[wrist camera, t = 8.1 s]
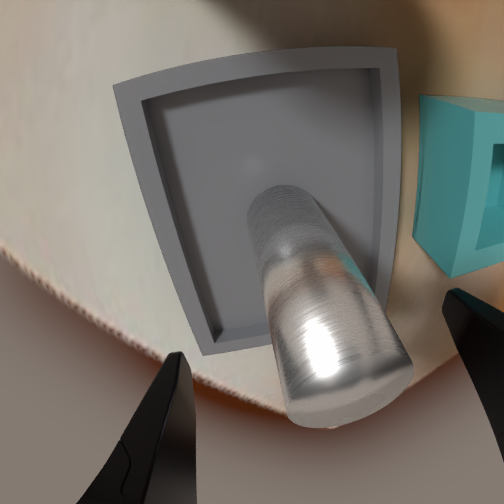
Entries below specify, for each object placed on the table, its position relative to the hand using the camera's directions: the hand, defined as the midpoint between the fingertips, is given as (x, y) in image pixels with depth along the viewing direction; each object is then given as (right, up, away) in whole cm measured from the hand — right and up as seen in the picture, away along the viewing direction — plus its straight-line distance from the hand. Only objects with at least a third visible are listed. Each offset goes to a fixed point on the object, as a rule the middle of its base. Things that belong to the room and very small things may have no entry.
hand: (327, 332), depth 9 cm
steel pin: (-1, +4, +6) cm, 8 cm away
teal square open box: (+12, +8, +7) cm, 16 cm away
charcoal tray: (-1, +5, +7) cm, 9 cm away
